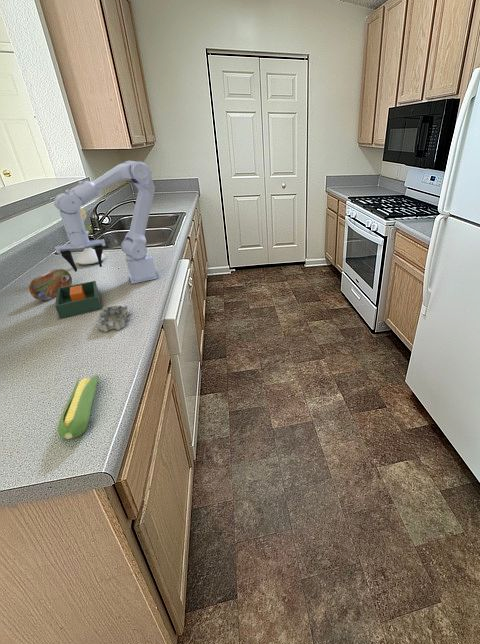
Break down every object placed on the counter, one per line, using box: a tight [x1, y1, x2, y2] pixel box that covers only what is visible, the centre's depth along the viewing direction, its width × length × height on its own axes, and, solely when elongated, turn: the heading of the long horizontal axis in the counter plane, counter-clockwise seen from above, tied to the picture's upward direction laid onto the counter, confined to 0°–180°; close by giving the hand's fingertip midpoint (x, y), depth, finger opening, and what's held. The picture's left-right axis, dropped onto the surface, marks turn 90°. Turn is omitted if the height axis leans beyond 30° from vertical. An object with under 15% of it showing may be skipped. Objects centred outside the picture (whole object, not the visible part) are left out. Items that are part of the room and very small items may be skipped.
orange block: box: [70, 285, 86, 302], centre depth 112 cm, size 4×7×5 cm, turn 31°
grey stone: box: [95, 305, 129, 333], centre depth 101 cm, size 11×8×4 cm
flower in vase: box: [75, 207, 106, 265], centre depth 144 cm, size 13×11×25 cm
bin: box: [54, 280, 102, 320], centre depth 113 cm, size 12×16×4 cm
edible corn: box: [57, 374, 99, 440], centre depth 70 cm, size 5×20×5 cm, turn 19°
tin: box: [28, 268, 73, 301], centre depth 119 cm, size 15×3×8 cm, turn 168°
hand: (88, 268), depth 118 cm, fingers open, 7 cm apart
